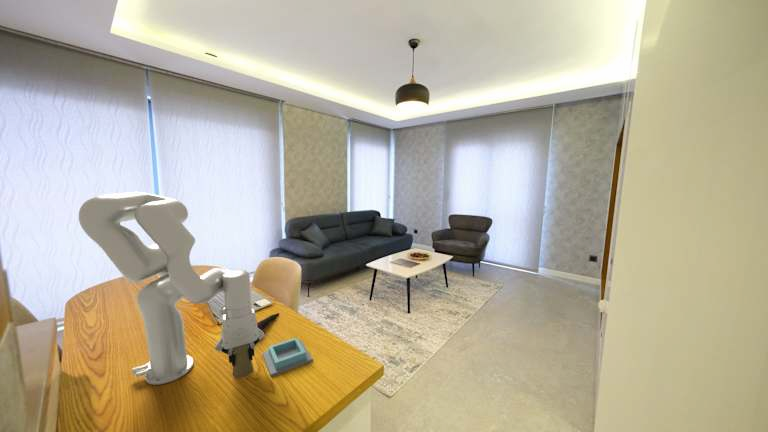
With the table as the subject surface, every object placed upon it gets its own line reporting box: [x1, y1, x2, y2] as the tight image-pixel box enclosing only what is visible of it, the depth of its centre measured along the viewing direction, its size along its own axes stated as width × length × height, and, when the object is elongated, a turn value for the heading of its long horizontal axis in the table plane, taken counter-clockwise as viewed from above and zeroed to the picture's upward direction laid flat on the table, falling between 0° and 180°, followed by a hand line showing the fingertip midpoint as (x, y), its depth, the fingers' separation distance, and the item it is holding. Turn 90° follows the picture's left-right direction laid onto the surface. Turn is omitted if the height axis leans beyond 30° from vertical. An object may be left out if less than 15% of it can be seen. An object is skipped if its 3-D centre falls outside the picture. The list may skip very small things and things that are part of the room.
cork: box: [232, 343, 254, 379], centre depth 91 cm, size 6×6×11 cm
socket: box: [262, 337, 314, 378], centre depth 99 cm, size 14×13×3 cm
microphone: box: [257, 312, 280, 331], centre depth 118 cm, size 6×6×20 cm
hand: (242, 360), depth 92 cm, fingers closed on cork, 4 cm apart
